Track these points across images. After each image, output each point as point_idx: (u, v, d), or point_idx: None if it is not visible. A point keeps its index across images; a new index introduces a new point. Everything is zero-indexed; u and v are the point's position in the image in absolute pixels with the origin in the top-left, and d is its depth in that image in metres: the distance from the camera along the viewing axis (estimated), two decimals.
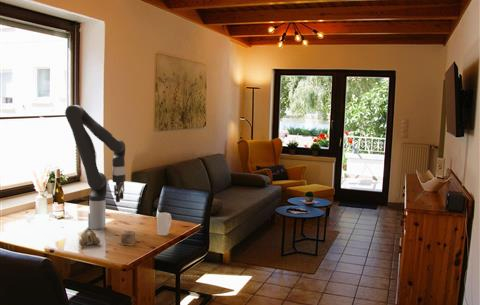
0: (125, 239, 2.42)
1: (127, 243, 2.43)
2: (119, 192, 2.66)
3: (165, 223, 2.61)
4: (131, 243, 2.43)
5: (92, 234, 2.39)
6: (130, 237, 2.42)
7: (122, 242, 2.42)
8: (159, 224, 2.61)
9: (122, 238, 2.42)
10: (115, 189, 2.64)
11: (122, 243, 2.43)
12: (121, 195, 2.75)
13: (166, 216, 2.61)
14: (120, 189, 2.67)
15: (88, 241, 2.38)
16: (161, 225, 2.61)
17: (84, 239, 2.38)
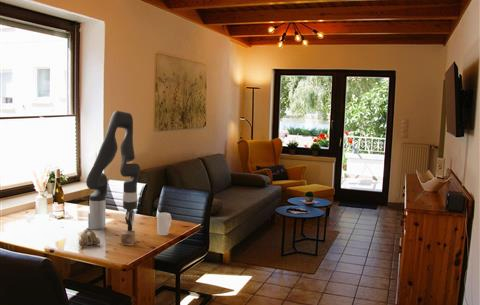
0: (125, 239, 2.42)
1: (127, 243, 2.42)
2: (131, 221, 2.46)
3: (165, 223, 2.61)
4: (131, 243, 2.43)
5: (92, 234, 2.39)
6: (130, 237, 2.42)
7: (122, 242, 2.42)
8: (159, 224, 2.61)
9: (122, 238, 2.42)
10: (127, 220, 2.43)
11: (122, 243, 2.42)
12: None
13: (166, 216, 2.61)
14: (132, 218, 2.46)
15: (88, 241, 2.38)
16: (161, 225, 2.61)
17: (84, 239, 2.37)
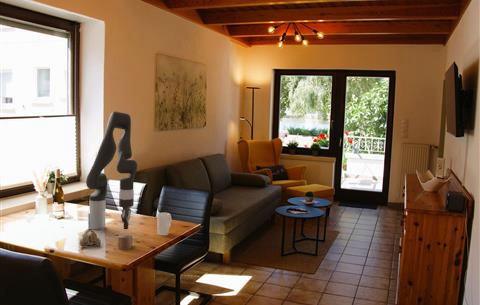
0: None
1: None
2: (127, 219, 2.40)
3: (165, 223, 2.61)
4: None
5: (93, 234, 2.39)
6: None
7: None
8: (159, 224, 2.61)
9: None
10: (122, 218, 2.36)
11: None
12: None
13: (166, 216, 2.61)
14: (128, 216, 2.39)
15: (88, 241, 2.37)
16: (161, 225, 2.61)
17: (84, 239, 2.37)
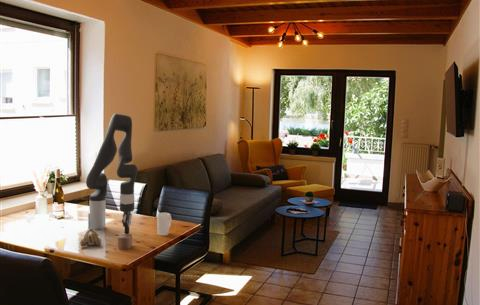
0: None
1: None
2: (128, 224, 2.39)
3: (165, 223, 2.61)
4: None
5: (93, 235, 2.38)
6: None
7: None
8: (159, 224, 2.61)
9: None
10: (123, 223, 2.36)
11: None
12: None
13: (166, 216, 2.61)
14: (129, 220, 2.39)
15: (89, 241, 2.37)
16: (161, 225, 2.61)
17: (85, 239, 2.37)
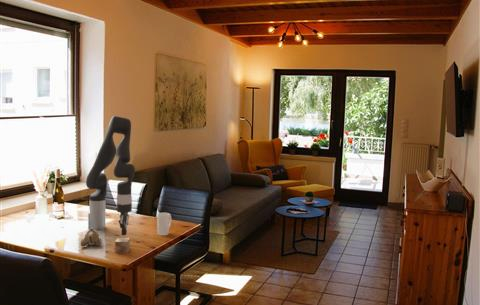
0: None
1: None
2: (125, 225, 2.33)
3: (165, 223, 2.61)
4: None
5: (94, 235, 2.38)
6: None
7: None
8: (159, 224, 2.61)
9: None
10: (120, 224, 2.30)
11: None
12: None
13: (166, 216, 2.61)
14: (126, 221, 2.33)
15: (89, 242, 2.37)
16: (161, 225, 2.61)
17: (86, 239, 2.37)
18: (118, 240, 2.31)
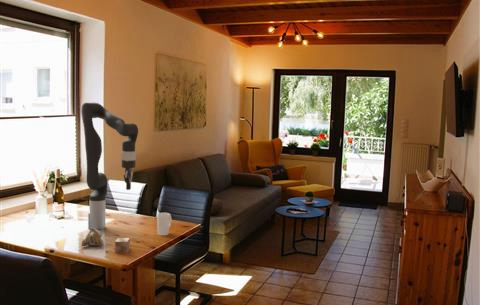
0: None
1: None
2: (129, 180, 2.53)
3: (165, 223, 2.61)
4: None
5: (95, 235, 2.38)
6: None
7: None
8: (159, 224, 2.61)
9: None
10: (125, 178, 2.50)
11: None
12: None
13: (166, 216, 2.61)
14: (130, 177, 2.53)
15: (90, 242, 2.37)
16: (161, 225, 2.61)
17: (87, 239, 2.37)
18: (118, 240, 2.31)
